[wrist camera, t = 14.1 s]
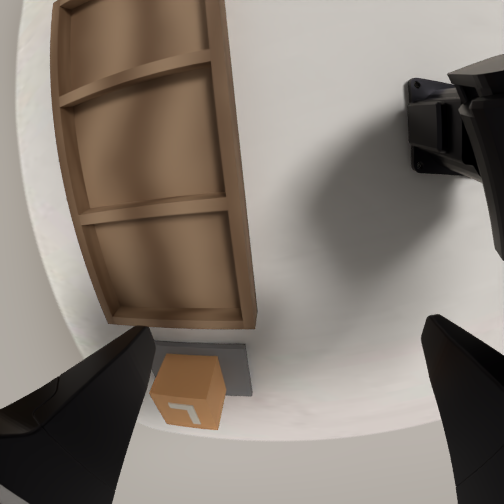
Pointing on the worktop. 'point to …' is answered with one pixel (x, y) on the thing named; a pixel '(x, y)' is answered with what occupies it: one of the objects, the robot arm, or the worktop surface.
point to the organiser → (153, 160)
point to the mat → (228, 356)
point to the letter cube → (190, 391)
